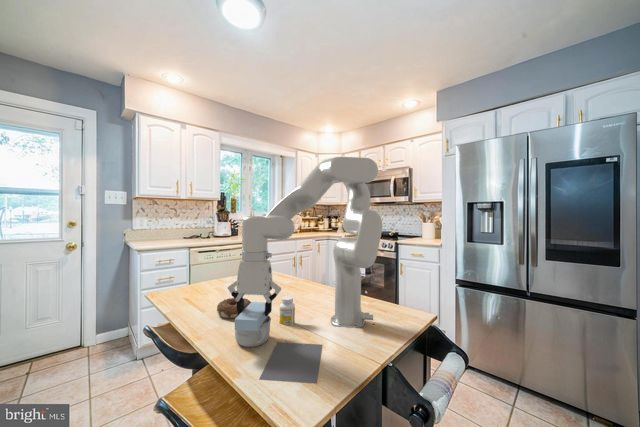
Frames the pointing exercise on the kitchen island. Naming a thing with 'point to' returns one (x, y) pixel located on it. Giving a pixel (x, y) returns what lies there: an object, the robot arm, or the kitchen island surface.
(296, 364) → the mat
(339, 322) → the robot arm
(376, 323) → the kitchen island surface
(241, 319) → the light blue block
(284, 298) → the supplement bottle
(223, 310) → the donut
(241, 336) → the teacup
